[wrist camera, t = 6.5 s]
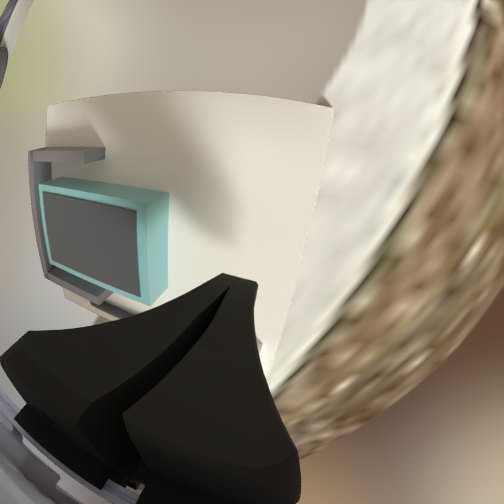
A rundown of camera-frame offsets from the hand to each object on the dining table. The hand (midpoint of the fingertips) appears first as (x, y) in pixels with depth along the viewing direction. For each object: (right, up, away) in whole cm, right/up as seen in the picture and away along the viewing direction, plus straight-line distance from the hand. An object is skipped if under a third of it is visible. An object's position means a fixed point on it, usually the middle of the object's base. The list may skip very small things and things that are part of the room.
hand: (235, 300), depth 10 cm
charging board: (-5, +3, +4) cm, 7 cm away
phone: (-7, +3, +3) cm, 9 cm away
